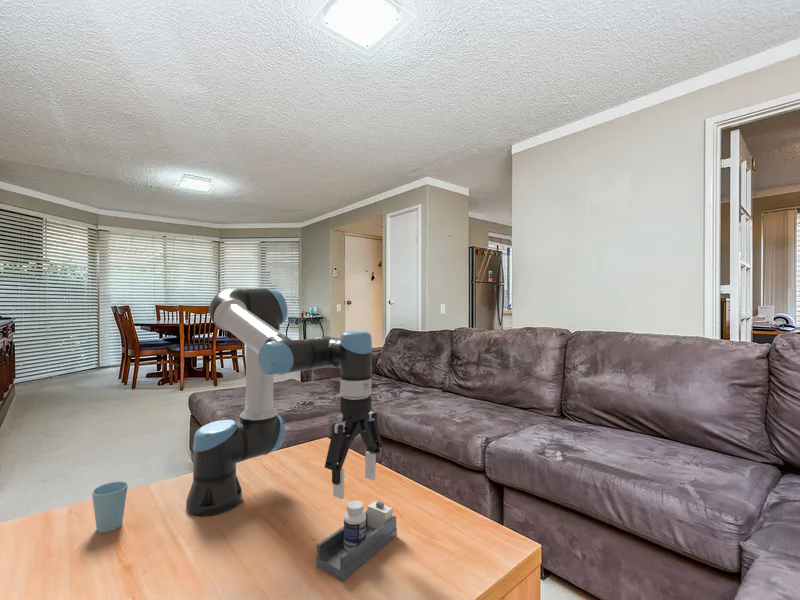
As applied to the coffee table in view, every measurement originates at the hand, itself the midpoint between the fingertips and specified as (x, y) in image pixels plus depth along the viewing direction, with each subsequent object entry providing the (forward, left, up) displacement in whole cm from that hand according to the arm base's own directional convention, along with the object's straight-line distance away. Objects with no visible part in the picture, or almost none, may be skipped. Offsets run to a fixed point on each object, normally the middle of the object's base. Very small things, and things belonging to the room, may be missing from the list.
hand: (355, 487), depth 94 cm
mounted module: (0, +10, -14) cm, 17 cm away
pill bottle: (0, 0, -14) cm, 14 cm away
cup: (-61, -30, -16) cm, 70 cm away
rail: (0, +1, -16) cm, 16 cm away
